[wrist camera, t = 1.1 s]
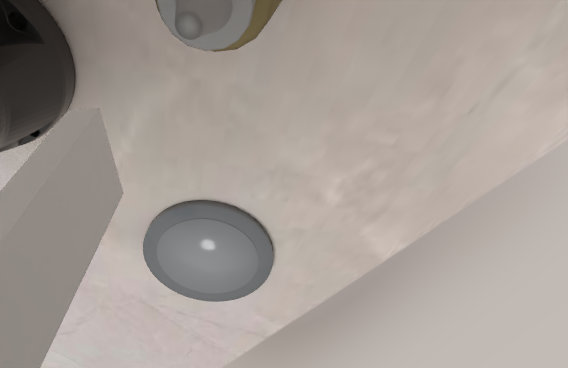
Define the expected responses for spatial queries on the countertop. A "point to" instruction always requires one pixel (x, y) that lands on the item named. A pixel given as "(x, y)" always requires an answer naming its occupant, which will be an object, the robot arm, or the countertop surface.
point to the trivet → (208, 251)
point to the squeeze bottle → (216, 21)
